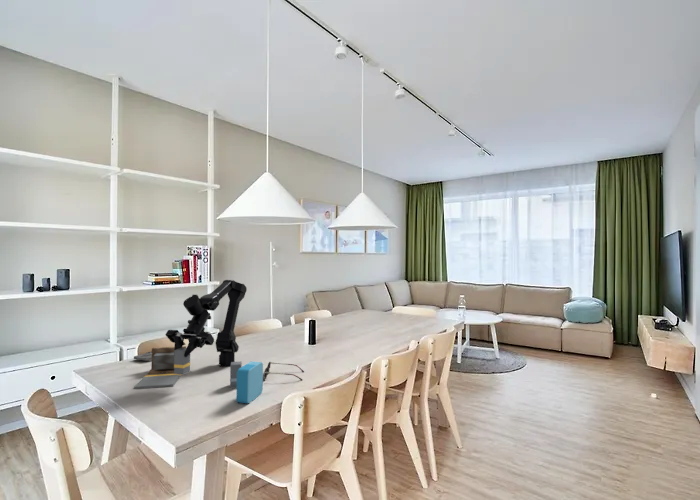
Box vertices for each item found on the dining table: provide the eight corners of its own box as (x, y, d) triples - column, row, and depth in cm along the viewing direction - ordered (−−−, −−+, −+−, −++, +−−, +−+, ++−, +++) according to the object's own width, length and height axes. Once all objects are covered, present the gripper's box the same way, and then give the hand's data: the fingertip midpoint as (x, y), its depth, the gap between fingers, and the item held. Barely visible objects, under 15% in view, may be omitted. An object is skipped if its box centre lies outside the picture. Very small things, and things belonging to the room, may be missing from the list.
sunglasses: (268, 372, 166) (269, 361, 166) (304, 374, 167) (305, 362, 167) (263, 382, 152) (264, 370, 152) (302, 384, 153) (303, 372, 153)
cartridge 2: (241, 383, 150) (241, 361, 150) (240, 387, 146) (241, 364, 146) (230, 384, 149) (231, 362, 149) (230, 387, 145) (230, 365, 145)
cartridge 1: (180, 370, 145) (181, 347, 145) (190, 371, 144) (190, 348, 145) (173, 373, 141) (174, 350, 141) (183, 374, 140) (183, 350, 141)
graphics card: (157, 346, 196) (174, 348, 191) (158, 353, 196) (174, 355, 191) (128, 354, 180) (145, 357, 176) (128, 362, 180) (146, 364, 175)
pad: (181, 375, 159) (181, 373, 159) (173, 386, 146) (173, 384, 146) (145, 377, 156) (145, 375, 156) (134, 388, 143) (134, 386, 143)
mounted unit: (186, 367, 170) (186, 345, 170) (182, 372, 163) (183, 349, 163) (152, 369, 167) (153, 347, 167) (147, 374, 160) (148, 351, 160)
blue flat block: (251, 391, 141) (252, 360, 142) (262, 392, 140) (263, 361, 141) (236, 403, 130) (236, 369, 130) (247, 405, 129) (248, 370, 129)
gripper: (225, 334, 156) (210, 368, 145) (186, 332, 160) (168, 365, 149) (215, 319, 148) (198, 353, 137) (174, 316, 152) (154, 350, 141)
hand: (180, 356), depth 142 cm, fingers closed on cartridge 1, 4 cm apart
